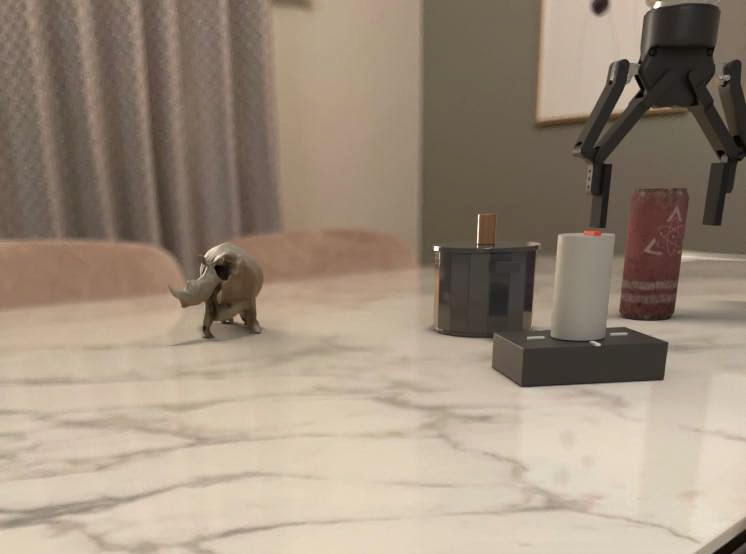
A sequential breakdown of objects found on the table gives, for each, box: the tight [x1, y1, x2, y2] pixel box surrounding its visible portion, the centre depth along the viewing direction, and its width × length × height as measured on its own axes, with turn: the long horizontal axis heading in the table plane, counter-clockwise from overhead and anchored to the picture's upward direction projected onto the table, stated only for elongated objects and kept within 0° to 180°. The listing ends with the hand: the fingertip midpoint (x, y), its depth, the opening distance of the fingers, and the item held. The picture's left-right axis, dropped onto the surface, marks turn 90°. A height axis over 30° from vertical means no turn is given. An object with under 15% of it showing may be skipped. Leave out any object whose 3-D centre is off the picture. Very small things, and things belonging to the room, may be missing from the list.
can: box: [618, 186, 690, 321], centre depth 97 cm, size 6×6×14 cm
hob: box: [491, 326, 669, 387], centre depth 71 cm, size 12×9×3 cm
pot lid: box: [431, 212, 542, 253], centre depth 90 cm, size 11×11×4 cm
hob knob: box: [550, 230, 616, 341], centre depth 69 cm, size 4×4×8 cm
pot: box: [433, 250, 538, 338], centre depth 92 cm, size 11×16×8 cm, turn 8°
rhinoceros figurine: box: [167, 241, 265, 339], centre depth 94 cm, size 8×14×15 cm
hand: (654, 226), depth 96 cm, fingers open, 13 cm apart
